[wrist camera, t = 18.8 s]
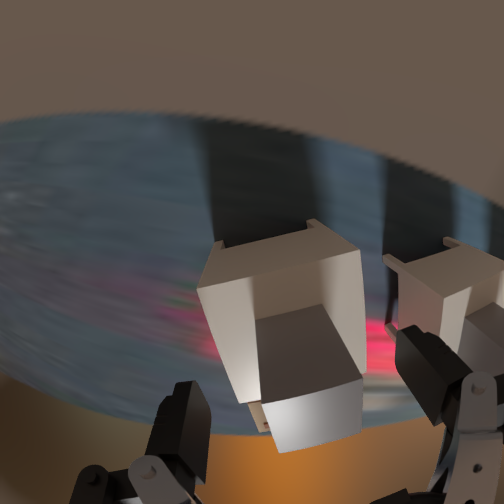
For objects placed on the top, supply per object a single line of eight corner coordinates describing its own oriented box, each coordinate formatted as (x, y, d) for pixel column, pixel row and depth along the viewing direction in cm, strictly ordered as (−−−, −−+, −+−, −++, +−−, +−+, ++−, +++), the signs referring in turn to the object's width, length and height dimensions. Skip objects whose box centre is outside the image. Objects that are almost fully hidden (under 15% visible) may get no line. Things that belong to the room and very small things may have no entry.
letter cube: (292, 361, 22) (301, 394, 18) (299, 391, 23) (307, 424, 19) (246, 371, 22) (247, 405, 18) (257, 400, 23) (259, 433, 19)
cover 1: (314, 218, 19) (425, 299, 6) (328, 307, 21) (402, 439, 8) (214, 242, 19) (168, 364, 7) (240, 328, 21) (239, 480, 8)
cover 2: (447, 236, 20) (564, 292, 7) (444, 306, 21) (532, 383, 9) (382, 255, 20) (502, 344, 7) (384, 330, 22) (464, 436, 9)
